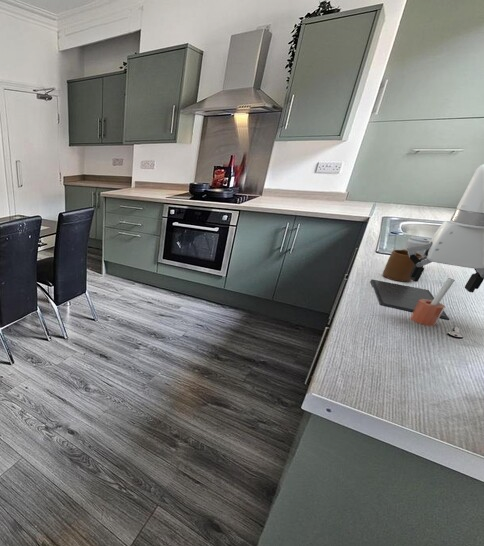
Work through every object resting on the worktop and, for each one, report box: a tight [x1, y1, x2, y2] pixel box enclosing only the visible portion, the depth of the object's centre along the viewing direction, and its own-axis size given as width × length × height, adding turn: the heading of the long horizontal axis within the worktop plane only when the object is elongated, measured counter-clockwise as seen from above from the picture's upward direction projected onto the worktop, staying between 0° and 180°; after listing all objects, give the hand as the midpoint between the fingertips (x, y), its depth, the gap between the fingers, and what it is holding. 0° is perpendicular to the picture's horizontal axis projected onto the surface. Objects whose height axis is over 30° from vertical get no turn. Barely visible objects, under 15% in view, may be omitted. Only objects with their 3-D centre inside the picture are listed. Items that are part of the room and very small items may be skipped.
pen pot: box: [409, 299, 446, 327], centre depth 82 cm, size 5×5×6 cm
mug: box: [382, 248, 422, 283], centre depth 111 cm, size 12×8×9 cm, turn 141°
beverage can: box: [403, 236, 432, 257], centre depth 117 cm, size 6×6×12 cm
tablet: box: [370, 278, 451, 321], centre depth 96 cm, size 14×22×1 cm, turn 144°
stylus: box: [431, 277, 456, 305], centre depth 80 cm, size 1×1×13 cm
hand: (440, 285), depth 79 cm, fingers open, 9 cm apart
